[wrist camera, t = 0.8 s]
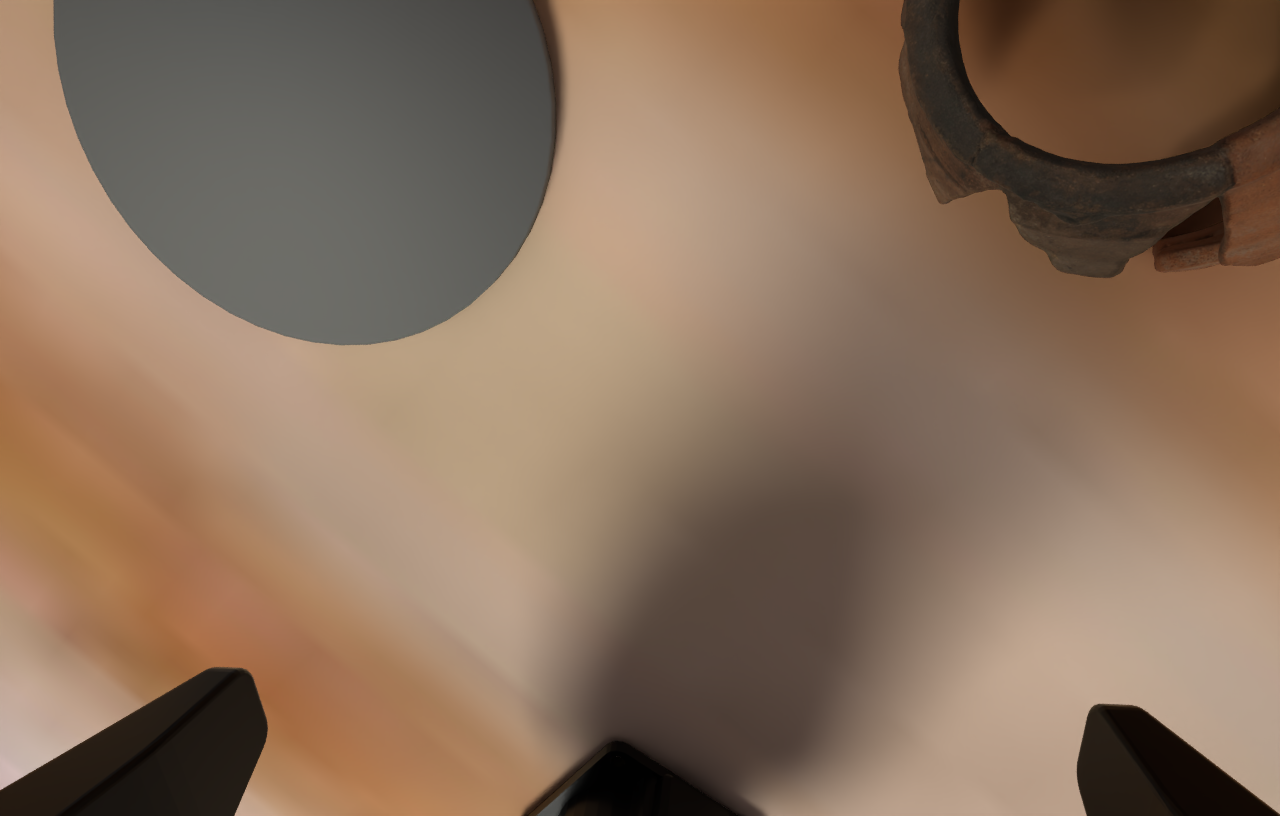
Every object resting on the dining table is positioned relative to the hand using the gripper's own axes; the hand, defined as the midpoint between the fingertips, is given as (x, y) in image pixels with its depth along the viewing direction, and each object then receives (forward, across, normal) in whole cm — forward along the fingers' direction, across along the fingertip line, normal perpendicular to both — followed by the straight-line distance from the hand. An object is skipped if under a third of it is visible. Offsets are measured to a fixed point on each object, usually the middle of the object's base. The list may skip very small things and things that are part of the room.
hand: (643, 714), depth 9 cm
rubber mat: (+13, +9, -6) cm, 17 cm away
